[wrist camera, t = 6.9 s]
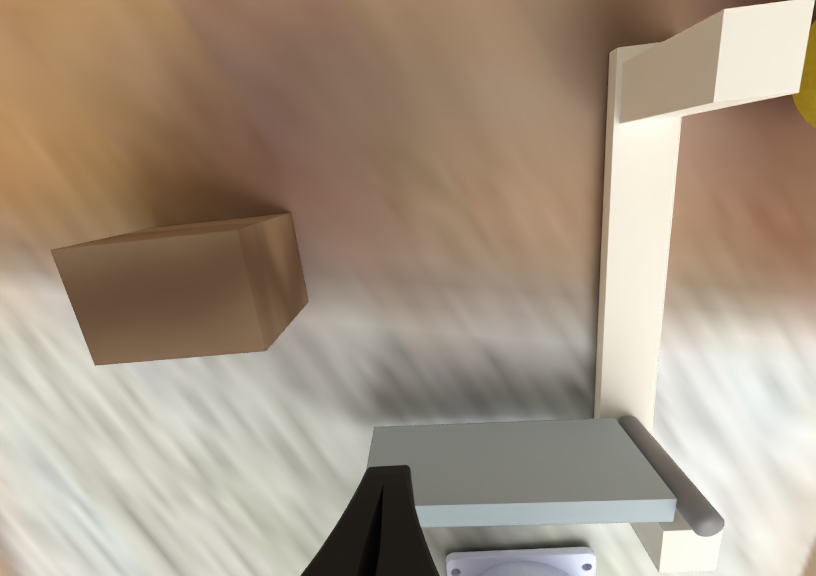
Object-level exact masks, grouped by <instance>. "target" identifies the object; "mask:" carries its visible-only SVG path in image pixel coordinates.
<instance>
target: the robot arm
mask: <svg viewBox="0 0 816 576" xmlns="http://www.w3.org/2000/svg"><path fill="white" fill-rule="evenodd" d="M446 571H447V576H596V555H595V553H594V551H593V550H592V549H591V548H589V547H566V548H543V549H521V550H498V551H475V552H454V553H450V554H448V555H447V557H446ZM301 576H439V573H438V571H437V569H436V566H435V564H434V562H433V559H432V557H431V554H430V551H429V549H428V546H427V543H426V541H425V538H424V535H423V532H422V529H421V526H420V523H419V519H418V516H417V512H416V509H415V501H414V493H413V485H412V477H411V469H410V467H409V466H408V465H393V466H376V467H369V468H368V469H367V470H366V472H365V474H364V476H363V478H362V480H361V482H360V484H359V486H358V488H357V490H356V492H355V494H354V496H353V497H352V499H351V501H350V503H349V505H348V506H347V508H346V510H345V511H344V513H343V515H342V516H341V518H340V520H339V521H338V523H337V525H336V526H335V528H334V529H333V531H332V532H331V534H330V535H329V537H328V538H327V540H326V541H325V543H324V544H323V546H322V547H321V549H320V550H319V552H318V553H317V554H316V556H315V557H314V559H313V560H312V561H311V563H310V564H309V565H308V567H307V568H306V569H305V570H304V572H303V573H302V574H301Z"/></svg>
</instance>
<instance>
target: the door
mask: <svg viewBox="0 0 816 576" xmlns="http://www.w3.org/2000/svg"><path fill="white" fill-rule="evenodd" d="M393 465H408V466H409V467H410V469H411V477H412V485H413V493H414V501H415V509H416V512H417V516H418V519H419V523H420V526H421V528H424V527H467V526H509V525H551V524H593V523H635V522H673V520H674V514H675V508H677V510H678V511H679V512H680V514H681V515H682V516H683V518H684V519H685V520H686V522H687V523H688V524H689V526H690V527H691V528H692V530H693V531H694V532H695V533H696V534H697V535H699V536H702V537H709V536H713V535H715V534H717V533H719V532H720V531H721V530H722V529H723V527H724V519H723V518H722V517H721V515H720V514H719V513H718V512H717V511H716V510H715V508H714V507H713V506H712V505H711V504H710V503H709V501H708V500H707V499H706V498H705V497H704V496H703V495H702V493H701V492H700V491H699V490H698V489H697V488H696V486H695V485H694V484H693V483H692V482H691V481H690V479H689V478H688V477H687V476H686V475H685V474H684V472H683V471H682V470H681V469H680V468H679V467H678V465H677V464H676V463H675V462H674V461H673V460H672V458H671V457H670V456H669V455H668V454H667V453H666V451H665V450H664V449H663V448H662V447H661V446H660V444H659V443H658V442H657V441H656V440H655V439H654V437H653V436H652V435H651V434H650V433H649V432H648V430H647V429H646V428H645V427H644V426H643V425H642V423H641V422H640V421H639V420H638V419H637V418H636V417H634V416H625V417H623V418H622V419H620V420H619V422H617V420H616V419H615V418H596V419H570V420H544V421H519V422H493V423H467V424H441V425H415V426H390V427H374V431H373V437H372V442H371V447H370V453H369V458H368V463H367V469H368V468H369V467H376V466H393ZM367 469H366V470H367Z"/></svg>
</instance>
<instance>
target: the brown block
mask: <svg viewBox="0 0 816 576" xmlns="http://www.w3.org/2000/svg"><path fill="white" fill-rule="evenodd" d="M51 253H52V255H53V258H54V260H55V263H56V266H57V268H58V271H59V273H60V276H61V279H62V281H63V284H64V286H65V289H66V292H67V294H68V297H69V299H70V302H71V304H72V307H73V310H74V312H75V315H76V317H77V320H78V323H79V325H80V328H81V330H82V333H83V336H84V338H85V341H86V343H87V346H88V349H89V351H90V354H91V356H92V359H93V362H94V364H95V365H106V364H118V363H130V362H142V361H153V360H165V359H177V358H189V357H201V356H212V355H224V354H236V353H248V352H259V351H266V350H267V349H268V348H269V347H270V346H271V345H272V343H273V342H274V341H275V340H276V339H277V338H278V336H279V335H280V334H281V333H282V332H283V331H284V330H285V328H286V327H287V326H288V325H289V324H290V323H291V321H292V320H293V319H294V318H295V317H296V316H297V315H298V313H299V312H300V311H301V310H302V309H303V308H304V306H305V305H306V304H307V303H308V302H309V301H308V296H307V291H306V286H305V281H304V276H303V271H302V266H301V261H300V256H299V250H298V245H297V240H296V235H295V230H294V225H293V220H292V215H291V212H290V213H281V214H272V215H263V216H254V217H245V218H236V219H227V220H218V221H209V222H199V223H190V224H181V225H172V226H163V227H155V228H150V229H146V230H141V231H136V232H132V233H127V234H123V235H118V236H113V237H109V238H104V239H100V240H95V241H90V242H86V243H81V244H77V245H72V246H67V247H63V248H58V249H54V250H51Z"/></svg>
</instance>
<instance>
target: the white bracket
mask: <svg viewBox="0 0 816 576" xmlns="http://www.w3.org/2000/svg"><path fill="white" fill-rule="evenodd" d="M814 2H815V0H790V1H782V2H775V3H767V4H759V5H752V6H744V7H736V8H729V9H724V10H722V11H720V12H718V13H716V14H714V15H712V16H710V17H708V18H706V19H705V20H703V21H701V22H699V23H697V24H695V25H693V26H691V27H689V28H688V29H686V30H684V31H682V32H680V33H678V34H676V35H674V36H672V37H671V38H669V39H667V40H665V41H663V42H658V43H650V44H642V45H634V46H626V47H618V48H616V49H614V50H613V51H611V52H610V53H609V76H608V100H607V123H606V147H605V170H604V194H603V217H602V241H601V265H600V288H599V312H598V335H597V359H596V382H595V406H594V419H596V418H615V419H616V420H617V422H619V420H620V419H622V418H623V417H625V416H634V417H636V418H637V419H638V420H639V421H640V422H641V423H642V425H643V426H644V427H645V428H646V429H647V430H648V432H649V433H650V434H651V435H652V424H653V414H654V403H655V392H656V382H657V371H658V361H659V350H660V340H661V329H662V319H663V308H664V298H665V287H666V277H667V266H668V255H669V245H670V234H671V224H672V213H673V203H674V192H675V182H676V171H677V161H678V150H679V140H680V129H681V118H682V116H686V115H691V114H696V113H701V112H706V111H710V110H715V109H720V108H725V107H730V106H735V105H740V104H745V103H750V102H755V101H760V100H765V99H770V98H775V97H780V96H785V95H790V94H795V93H799V88H800V83H801V77H802V71H803V65H804V60H805V54H806V48H807V42H808V37H809V31H810V25H811V19H812V14H813V8H814ZM630 524H631V526H632V528H633V529H634V531H635V533H636V534H637V536H638V538H639V540H640V541H641V543H642V545H643V546H644V548H645V550H646V552H647V553H648V555H649V557H650V558H651V560H652V562H653V564H654V565H655V567H656V569H657V570H658V572H659V573H667V572H693V571H716V566H717V560H718V554H719V548H720V543H721V537H722V531H723V529H722V530H721V531H720V532H719V533H717V534H715V535H713V536H709V537H702V536H699V535H697V534H696V533H695V532H694V531H693V530H692V528H691V527H690V526H689V524H688V523H687V522H686V520H685V519H684V518H683V516H682V515H681V514H680V512H679V511H678V510H677V508H675V514H674V520H673V522H635V523H630Z"/></svg>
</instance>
